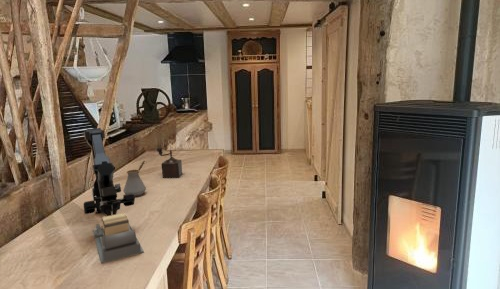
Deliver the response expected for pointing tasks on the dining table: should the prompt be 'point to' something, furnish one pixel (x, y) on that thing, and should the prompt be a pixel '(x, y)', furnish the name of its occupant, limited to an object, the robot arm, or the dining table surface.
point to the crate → (115, 224)
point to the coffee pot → (134, 183)
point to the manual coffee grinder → (170, 166)
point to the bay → (116, 244)
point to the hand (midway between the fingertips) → (113, 223)
